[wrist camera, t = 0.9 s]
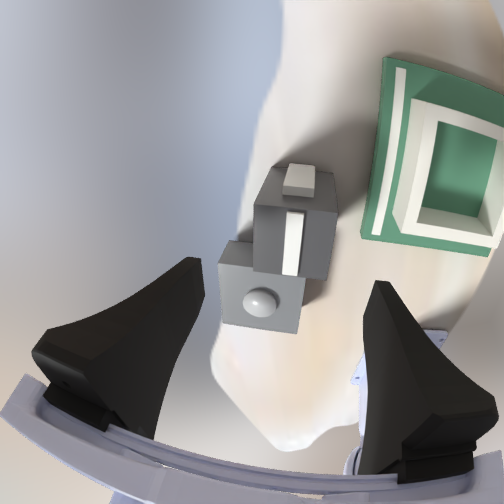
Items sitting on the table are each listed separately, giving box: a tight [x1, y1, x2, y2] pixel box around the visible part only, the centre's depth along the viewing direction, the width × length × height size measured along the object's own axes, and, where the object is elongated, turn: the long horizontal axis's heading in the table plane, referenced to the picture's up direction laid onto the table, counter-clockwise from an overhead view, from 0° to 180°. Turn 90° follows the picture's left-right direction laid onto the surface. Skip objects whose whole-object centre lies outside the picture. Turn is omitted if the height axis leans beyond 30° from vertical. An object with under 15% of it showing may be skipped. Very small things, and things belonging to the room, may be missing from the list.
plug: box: [253, 163, 338, 280], centre depth 17 cm, size 4×4×6 cm
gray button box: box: [218, 240, 306, 334], centre depth 22 cm, size 8×6×3 cm
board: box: [360, 57, 504, 257], centre depth 14 cm, size 12×11×4 cm
